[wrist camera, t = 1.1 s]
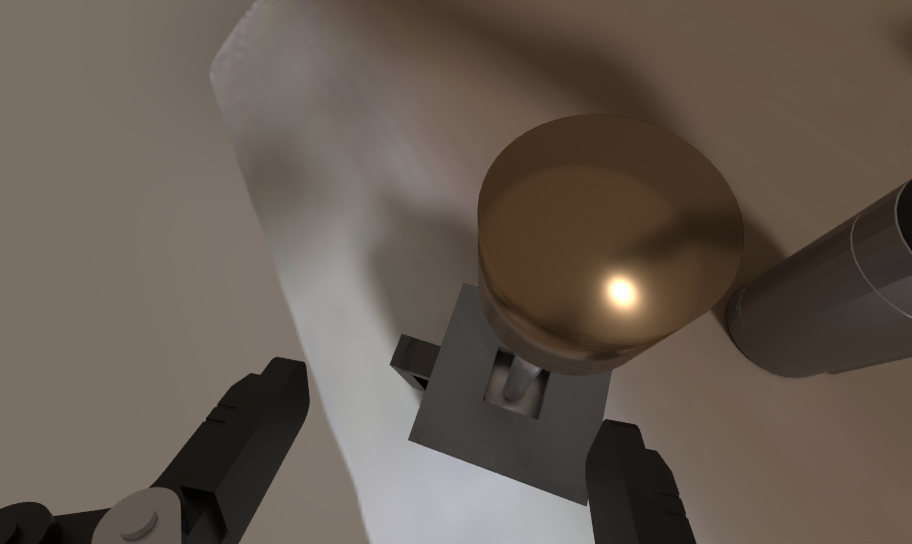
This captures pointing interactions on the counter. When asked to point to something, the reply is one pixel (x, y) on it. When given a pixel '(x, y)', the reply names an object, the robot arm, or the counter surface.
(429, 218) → the counter surface
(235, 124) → the counter surface
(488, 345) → the square hole block
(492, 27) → the counter surface
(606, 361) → the plunger
